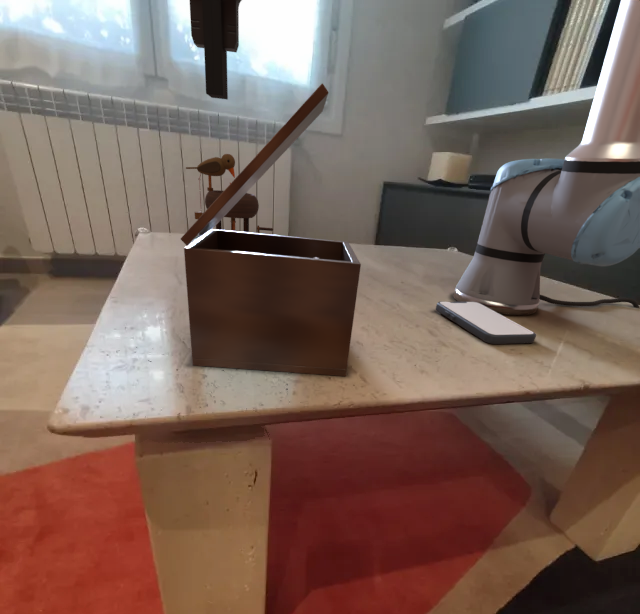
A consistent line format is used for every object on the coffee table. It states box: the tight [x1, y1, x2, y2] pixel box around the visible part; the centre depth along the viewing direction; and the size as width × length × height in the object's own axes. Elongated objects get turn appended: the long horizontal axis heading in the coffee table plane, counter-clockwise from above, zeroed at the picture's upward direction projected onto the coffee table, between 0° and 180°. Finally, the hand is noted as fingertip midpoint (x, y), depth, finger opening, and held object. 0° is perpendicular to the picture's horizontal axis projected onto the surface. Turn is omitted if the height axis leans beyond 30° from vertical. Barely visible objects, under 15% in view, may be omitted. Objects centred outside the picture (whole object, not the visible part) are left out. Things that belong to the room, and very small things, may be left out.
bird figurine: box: [185, 153, 274, 238], centre depth 77 cm, size 15×11×20 cm
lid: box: [180, 83, 329, 246], centre depth 42 cm, size 17×14×1 cm
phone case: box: [435, 301, 537, 345], centre depth 67 cm, size 9×2×16 cm
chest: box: [183, 228, 362, 377], centre depth 48 cm, size 17×14×12 cm
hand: (217, 96), depth 39 cm, fingers closed
